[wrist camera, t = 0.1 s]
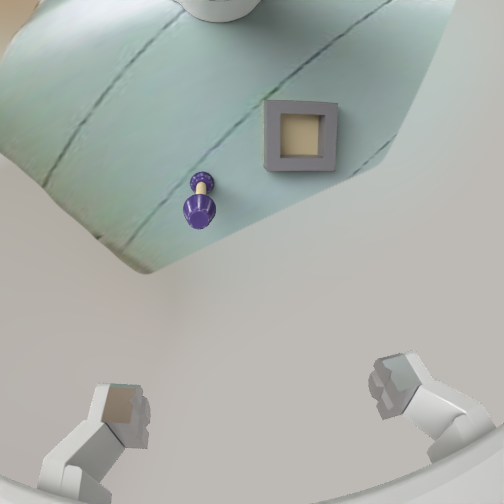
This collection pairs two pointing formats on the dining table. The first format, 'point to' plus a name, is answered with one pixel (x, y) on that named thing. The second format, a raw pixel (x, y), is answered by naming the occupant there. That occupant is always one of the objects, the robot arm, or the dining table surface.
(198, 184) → the toy lamp
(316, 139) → the socket block
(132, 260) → the dining table surface
